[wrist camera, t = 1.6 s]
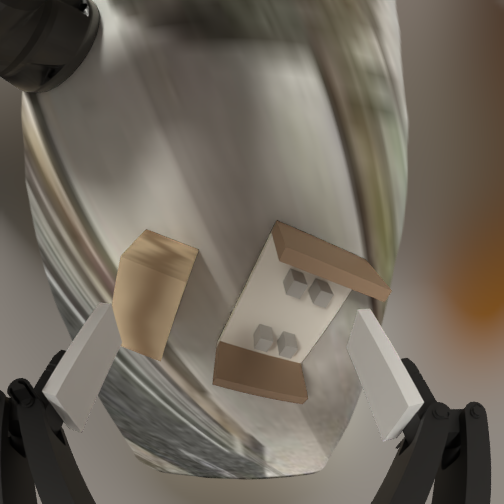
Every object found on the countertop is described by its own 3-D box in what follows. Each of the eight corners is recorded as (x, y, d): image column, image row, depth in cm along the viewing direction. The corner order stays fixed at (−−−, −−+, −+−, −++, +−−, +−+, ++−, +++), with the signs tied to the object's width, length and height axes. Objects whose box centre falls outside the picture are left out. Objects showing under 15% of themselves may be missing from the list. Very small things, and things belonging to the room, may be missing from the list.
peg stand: (216, 343, 39) (212, 384, 32) (276, 220, 32) (286, 246, 25) (295, 365, 42) (302, 404, 34) (365, 259, 34) (391, 290, 27)
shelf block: (128, 304, 36) (107, 339, 29) (146, 229, 32) (120, 256, 25) (173, 321, 38) (160, 361, 30) (198, 249, 33) (186, 282, 26)
